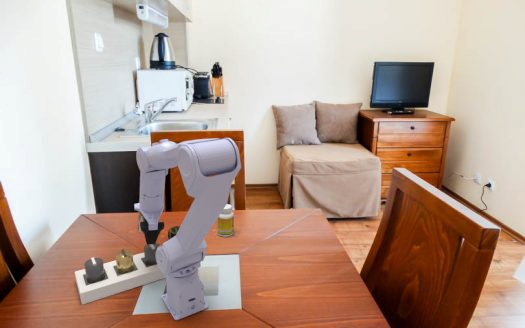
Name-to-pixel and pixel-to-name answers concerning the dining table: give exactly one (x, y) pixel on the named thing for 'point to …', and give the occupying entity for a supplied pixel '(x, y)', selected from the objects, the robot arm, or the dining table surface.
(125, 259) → the brass knob middle
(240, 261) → the dining table surface
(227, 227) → the supplement bottle
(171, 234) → the tape measure
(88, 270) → the black knob
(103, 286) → the control deck
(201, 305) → the robot arm
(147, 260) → the black knob
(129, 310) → the dining table surface
